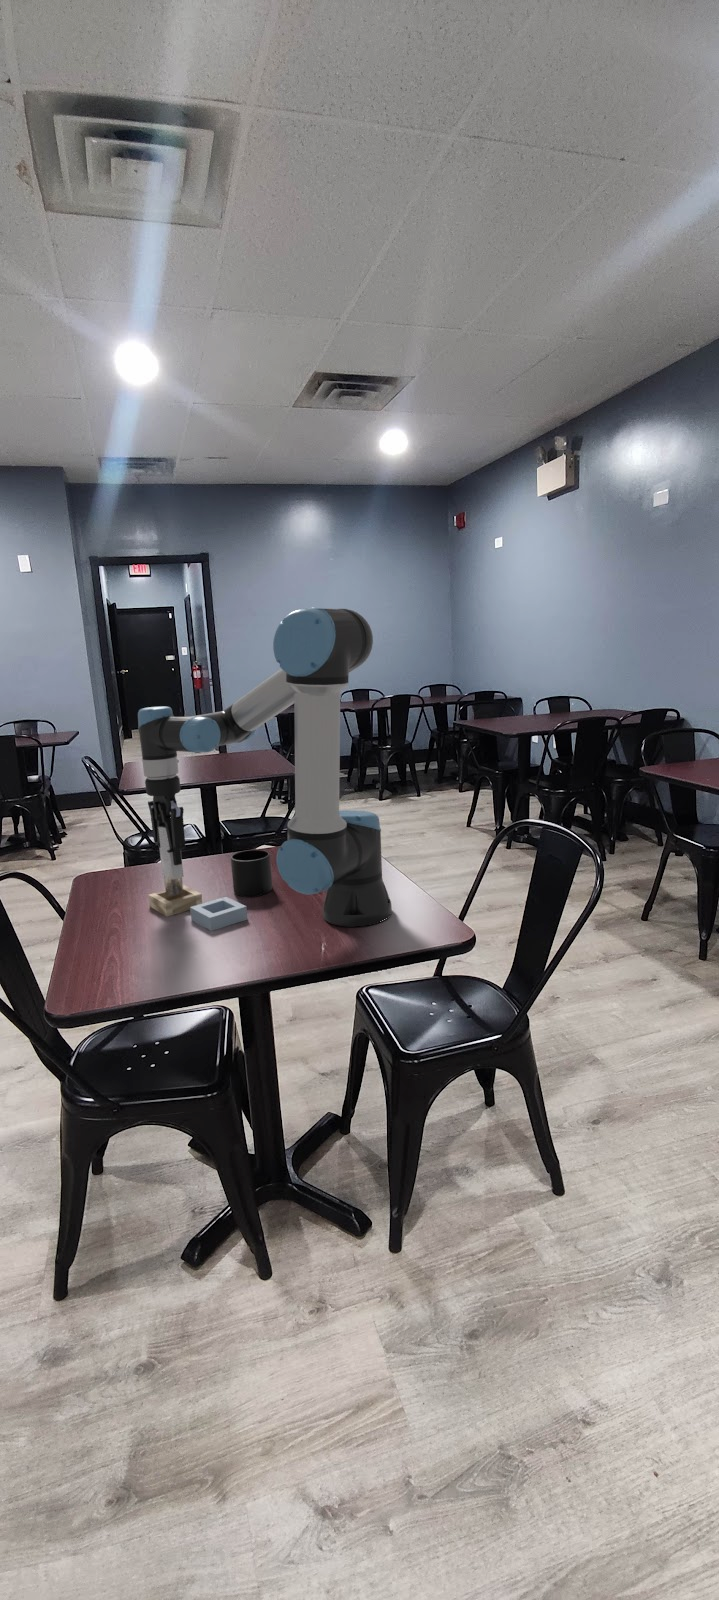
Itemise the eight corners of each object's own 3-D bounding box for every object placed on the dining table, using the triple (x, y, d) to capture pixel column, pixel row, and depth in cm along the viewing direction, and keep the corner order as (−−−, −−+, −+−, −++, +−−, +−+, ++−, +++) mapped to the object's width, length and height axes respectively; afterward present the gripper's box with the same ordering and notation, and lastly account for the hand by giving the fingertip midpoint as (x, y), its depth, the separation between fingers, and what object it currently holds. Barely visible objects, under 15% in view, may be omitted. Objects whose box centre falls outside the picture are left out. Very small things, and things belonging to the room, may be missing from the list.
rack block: (202, 905, 168) (201, 893, 167) (166, 916, 162) (165, 904, 162) (185, 896, 175) (183, 885, 174) (149, 906, 169) (148, 894, 168)
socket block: (247, 919, 158) (246, 906, 158) (211, 931, 153) (209, 917, 152) (227, 908, 165) (225, 896, 165) (191, 919, 160) (190, 907, 159)
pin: (186, 892, 167) (179, 825, 164) (170, 896, 165) (162, 829, 162) (178, 888, 170) (171, 823, 167) (162, 892, 168) (155, 826, 165)
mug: (268, 879, 185) (265, 845, 183) (275, 894, 173) (272, 858, 171) (231, 883, 183) (228, 849, 181) (235, 899, 171) (232, 863, 169)
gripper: (194, 777, 158) (205, 879, 163) (161, 769, 170) (171, 864, 176) (162, 783, 153) (174, 888, 158) (130, 774, 166) (142, 871, 171)
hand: (172, 875), depth 167 cm, fingers closed on pin, 4 cm apart
